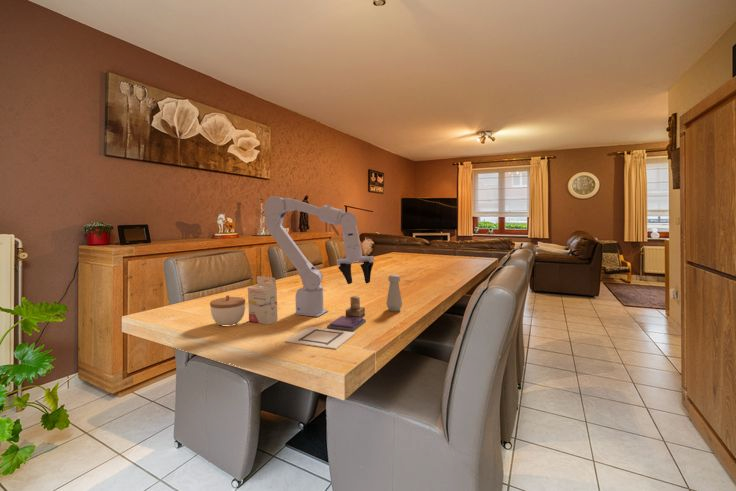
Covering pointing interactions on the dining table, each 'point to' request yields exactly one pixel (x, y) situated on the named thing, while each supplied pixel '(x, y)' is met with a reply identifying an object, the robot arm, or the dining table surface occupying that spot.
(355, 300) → the stamp
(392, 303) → the salt shaker
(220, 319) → the lidded jar
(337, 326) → the ink pad
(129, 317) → the dining table surface
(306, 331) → the marked sheet
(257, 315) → the ink cartridge box
